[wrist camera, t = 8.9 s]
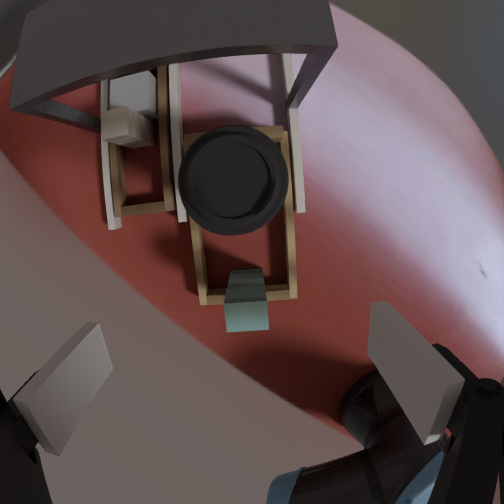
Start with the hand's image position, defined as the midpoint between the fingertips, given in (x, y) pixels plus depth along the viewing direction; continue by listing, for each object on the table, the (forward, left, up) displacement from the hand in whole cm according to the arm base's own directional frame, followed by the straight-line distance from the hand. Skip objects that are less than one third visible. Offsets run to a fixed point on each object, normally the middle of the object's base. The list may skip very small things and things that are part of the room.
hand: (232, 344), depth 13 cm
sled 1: (+15, +12, -25) cm, 31 cm away
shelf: (+21, +5, -25) cm, 33 cm away
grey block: (+19, +12, -25) cm, 34 cm away
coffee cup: (+7, 0, -25) cm, 26 cm away
